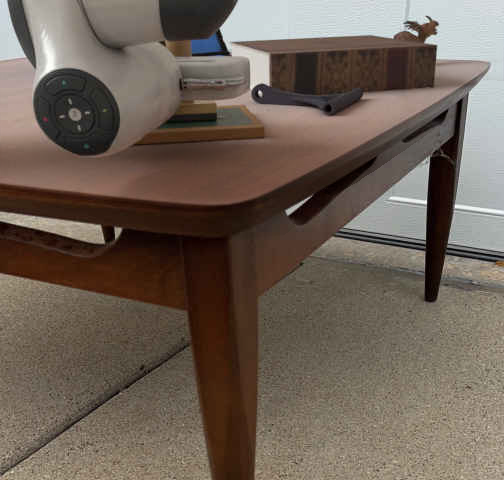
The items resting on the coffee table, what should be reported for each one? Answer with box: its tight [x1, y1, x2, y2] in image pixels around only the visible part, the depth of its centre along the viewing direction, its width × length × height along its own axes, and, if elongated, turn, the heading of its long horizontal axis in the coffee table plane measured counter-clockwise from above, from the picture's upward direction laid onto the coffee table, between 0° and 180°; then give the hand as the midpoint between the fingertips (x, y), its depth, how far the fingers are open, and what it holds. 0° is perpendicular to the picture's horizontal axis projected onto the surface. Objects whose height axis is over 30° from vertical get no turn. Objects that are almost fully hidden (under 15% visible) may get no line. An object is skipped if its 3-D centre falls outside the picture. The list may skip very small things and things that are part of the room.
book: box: [228, 34, 438, 95], centre depth 119 cm, size 24×28×7 cm
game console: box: [164, 28, 232, 57], centre depth 148 cm, size 16×14×9 cm
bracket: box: [250, 83, 364, 116], centre depth 99 cm, size 14×15×3 cm
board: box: [132, 104, 266, 146], centre depth 86 cm, size 18×16×1 cm
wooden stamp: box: [165, 40, 218, 122], centre depth 83 cm, size 8×5×10 cm, turn 99°
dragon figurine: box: [393, 15, 440, 43], centre depth 138 cm, size 14×6×9 cm, turn 136°
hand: (172, 68), depth 80 cm, fingers open, 8 cm apart
